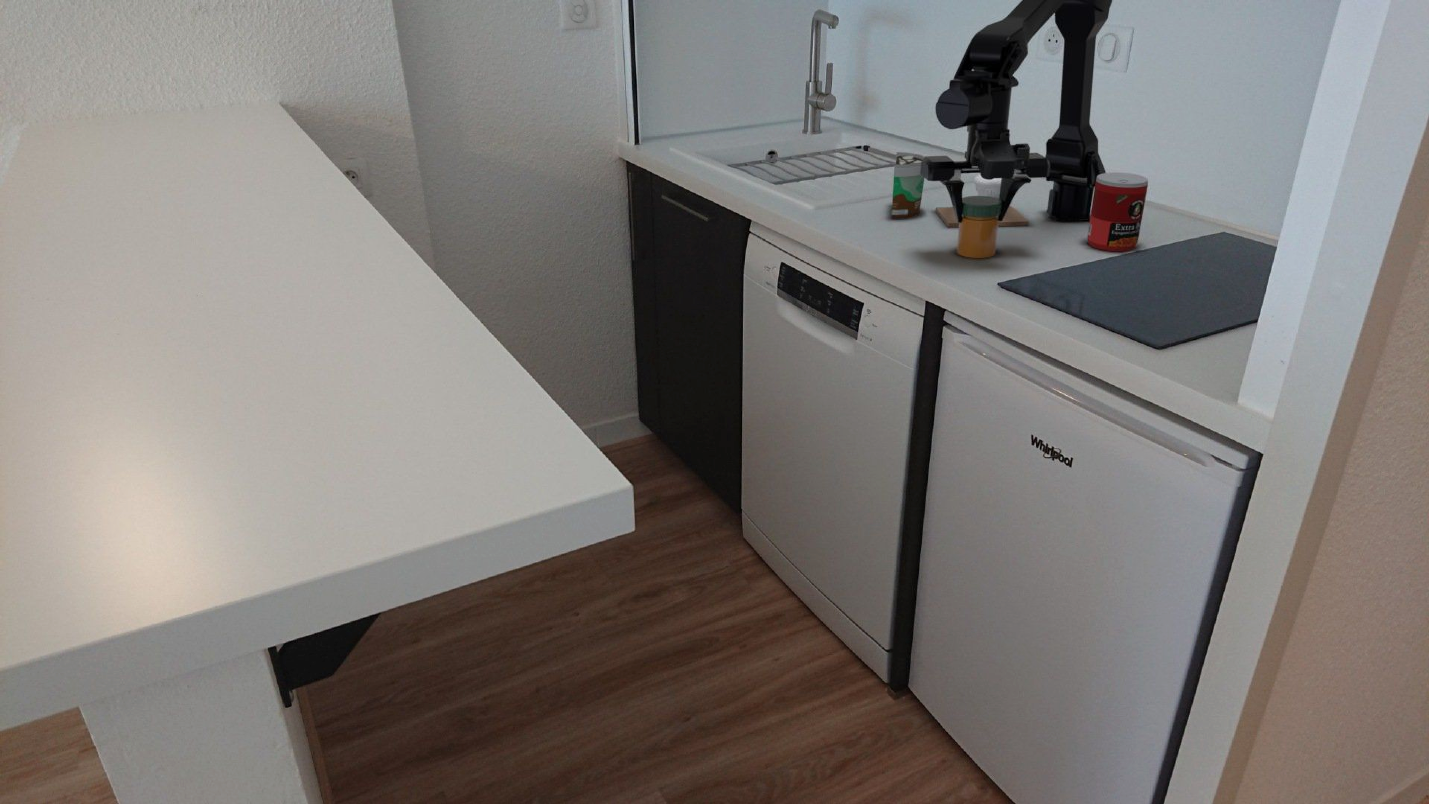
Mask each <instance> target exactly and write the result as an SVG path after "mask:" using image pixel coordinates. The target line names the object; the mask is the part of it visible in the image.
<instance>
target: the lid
mask: <svg viewBox="0 0 1429 804" xmlns="http://www.w3.org/2000/svg"><path fill="white" fill-rule="evenodd" d="M1001 207H1002V200H1000V199H999V198H995V197H989V196H979V195H969V196H964V197H962V215H965V216H969V217H979V218H986V217H995V216H998V215H1000V214H1001Z"/></svg>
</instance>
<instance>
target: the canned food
mask: <svg viewBox="0 0 1429 804" xmlns="http://www.w3.org/2000/svg"><path fill="white" fill-rule="evenodd" d="M1148 187H1149V179H1148V177H1145V176H1143V175H1140V174H1136V173H1128V172H1106V173H1103V174H1100V175H1098V176H1097V179H1096V184H1095V187H1094V191H1093V197H1092V204H1091V210H1090V215H1091V216H1090V220H1089V225H1088V230H1087V236H1086V239H1087V244H1088V245H1089V246H1090V247H1092V248H1094V249H1096V250H1097V249H1098V250H1101V251H1107V252H1108V251H1109V252H1128V251H1131V250H1134V249H1135V248H1136V246H1137V244H1138V243H1139V237H1140V231H1141V228H1142V227H1141V226H1142V221H1143V217H1144V216H1143V215H1144V209H1145V205H1146V204H1145V203H1146V198H1147V194H1148Z"/></svg>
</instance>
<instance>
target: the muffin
mask: <svg viewBox="0 0 1429 804" xmlns="http://www.w3.org/2000/svg"><path fill="white" fill-rule="evenodd" d="M973 183H974V187H975V190H976V192H977V196H989V197H995V198H998V199H999V195H1000V187H1001V178H994V179H992V180H987V179H984V178H982V177H981V174H980V173H978V174H977V175H975V177H974V179H973Z"/></svg>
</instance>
